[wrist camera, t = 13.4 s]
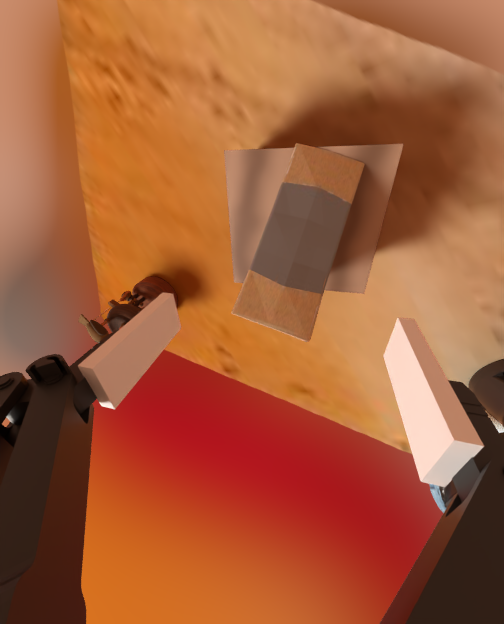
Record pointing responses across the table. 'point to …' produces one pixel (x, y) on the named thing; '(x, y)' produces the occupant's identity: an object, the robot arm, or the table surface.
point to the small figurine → (128, 306)
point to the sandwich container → (299, 242)
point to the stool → (263, 191)
